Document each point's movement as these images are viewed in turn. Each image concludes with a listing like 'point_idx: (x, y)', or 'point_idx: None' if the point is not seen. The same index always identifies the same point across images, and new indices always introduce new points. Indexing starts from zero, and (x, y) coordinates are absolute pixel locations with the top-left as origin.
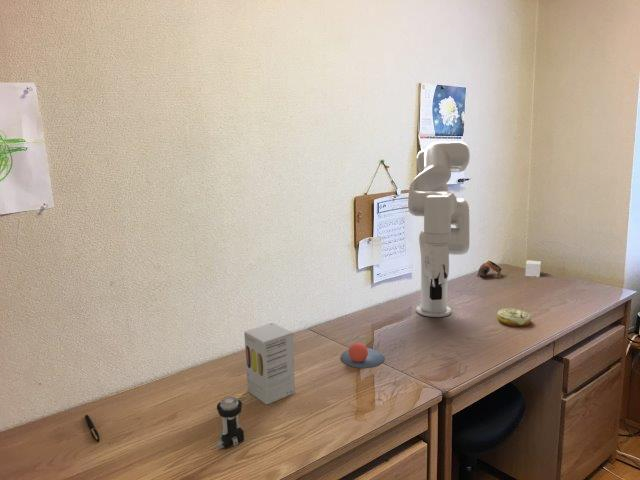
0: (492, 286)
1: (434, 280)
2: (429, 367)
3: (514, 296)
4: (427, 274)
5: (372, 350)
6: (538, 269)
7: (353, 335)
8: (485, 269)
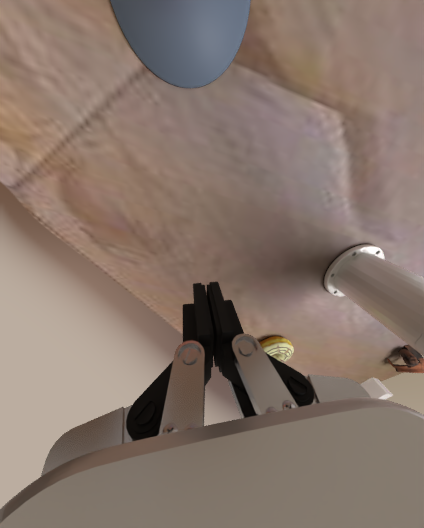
0: (371, 350)
1: (164, 415)
2: (125, 196)
3: (332, 360)
4: (219, 463)
5: (223, 55)
6: (369, 393)
7: (343, 17)
8: (409, 361)
